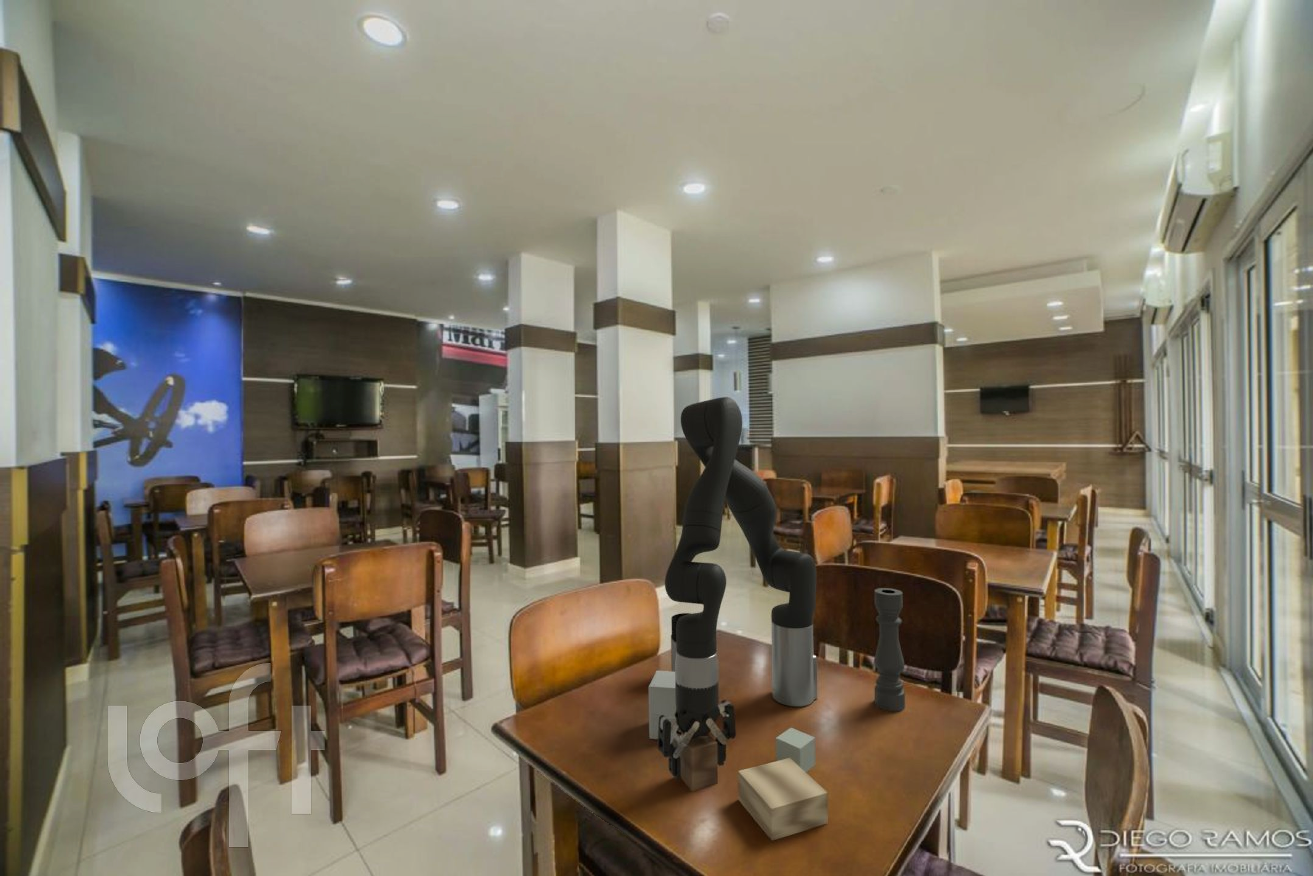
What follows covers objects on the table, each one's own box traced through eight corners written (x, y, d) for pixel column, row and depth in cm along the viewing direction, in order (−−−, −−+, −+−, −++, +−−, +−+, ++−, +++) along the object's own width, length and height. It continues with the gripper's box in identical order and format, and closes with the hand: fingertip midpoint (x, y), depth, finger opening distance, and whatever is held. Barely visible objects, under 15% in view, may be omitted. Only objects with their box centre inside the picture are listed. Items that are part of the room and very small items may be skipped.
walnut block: (703, 768, 100) (703, 729, 100) (717, 783, 96) (717, 743, 96) (678, 775, 98) (678, 735, 98) (692, 791, 93) (691, 750, 93)
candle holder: (908, 703, 123) (907, 590, 123) (900, 714, 118) (898, 597, 118) (880, 695, 127) (878, 586, 127) (870, 705, 122) (869, 592, 122)
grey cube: (791, 754, 104) (790, 727, 104) (815, 765, 101) (815, 737, 101) (776, 765, 101) (776, 737, 101) (800, 777, 97) (800, 748, 97)
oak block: (790, 787, 95) (789, 757, 95) (827, 825, 85) (827, 792, 85) (738, 801, 91) (738, 771, 91) (771, 842, 82) (771, 808, 82)
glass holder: (703, 670, 142) (702, 612, 141) (709, 696, 127) (708, 631, 127) (669, 671, 141) (668, 612, 141) (671, 697, 127) (670, 632, 127)
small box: (676, 742, 109) (675, 688, 109) (648, 739, 110) (647, 686, 110) (682, 721, 116) (682, 671, 116) (656, 719, 118) (656, 669, 118)
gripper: (720, 661, 103) (721, 748, 103) (650, 676, 97) (651, 768, 97) (743, 677, 96) (744, 770, 96) (669, 694, 90) (670, 793, 90)
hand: (697, 769), depth 97 cm, fingers open, 8 cm apart
